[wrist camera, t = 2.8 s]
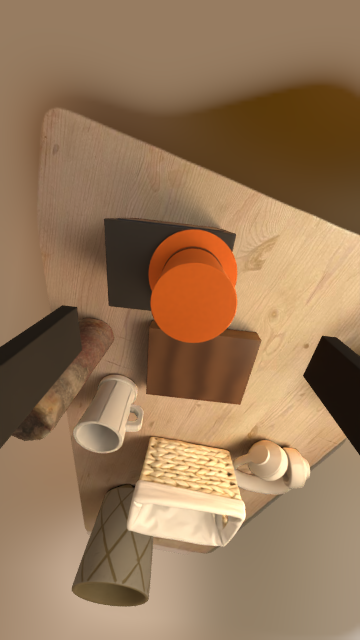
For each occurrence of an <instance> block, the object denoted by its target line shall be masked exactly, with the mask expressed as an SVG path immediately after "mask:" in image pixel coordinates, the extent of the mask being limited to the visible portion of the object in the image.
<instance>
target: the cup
mask: <svg viewBox="0 0 360 640" xmlns="http://www.w3.org/2000/svg"><path fill="white" fill-rule="evenodd" d="M137 393H138V391H137V387H136V385H135V383H134V382H133V381H132V380H130V379H129V378H127V377H125V376H122V375H109V376H106V377H105V378H103V379H102V380H101V382H100V383H99V385H98V389H97V393H96V395H95V396H94V398H93V400H92V402H91V403H90V405H89V407H88V408H87V410H86V411H85V413H84V414H83V416H82V418H81V419H80V421H79V422H78V424H77V425H76V427H75V428H74V431H73V435H74V438H75V440H76V442H77V443H78V444H79V445H80V446H82V447H83V448H85V449H87V450H89V451H92V452H96V453H111V452H114V451H116V450H118V449H119V448H120V447H121V446H122V443H123V440H124V435H125V432H137V431H139V430H140V429H141V427H142V421H143V415H144V411H143V409H142V408H141V407H140V406H138V405H133V404H132V403H133V402H134V401H135V400H136V397H137ZM130 412H131V413H135V415H136V416H137V418H138V419H136V420H135V421H128V417H129V413H130Z"/></svg>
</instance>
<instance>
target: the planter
mask: <svg viewBox="0 0 360 640" xmlns="http://www.w3.org/2000/svg"><path fill="white" fill-rule="evenodd" d="M134 490H135V488H133V487H132V486H131V485H130V484H127V485H123V486H120V487H117V488H114V489H112V490H110V491H108V492H107V493H106V495H105V497H104V500H103V502H102V505H101V508H100V511H99V514H98V516H97V519H96V522H95V525H94V527H93V530H92V533H91V536H90V538H89V541H88V544H87V546H86V549H85V552H84V555H83V557H82V560H81V563H80V566H79V569H78V572H77V574H76V577H75V580H74V583H73V586H72V591H73V593H74V594H75V595H77V596H78V597H80V598H82V599H85V600H87V601H91V602H94V603H98V604H104V605H110V606H137V605H141V604H144V603H145V602H147V601H148V599H149V588H150V577H151V562H152V550H153V536H149V535H144V534H140V533H137V532H134V531H129V530H128V529H127V520H128V515H129V510H130V506H131V501H132V497H133V493H134Z"/></svg>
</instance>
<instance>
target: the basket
mask: <svg viewBox="0 0 360 640" xmlns="http://www.w3.org/2000/svg"><path fill="white" fill-rule="evenodd" d="M225 515H228V520H227V519H225ZM245 516H246V514H245V505H244V502H243V501H241V496H240V491H239V488H238V486H237V481H236V476H235V473H234V467H233V464H232V460H231V456H230V452H229V451H227V450H224V449H219V448H213V447H207V446H203V445H195V444H192V443H190V444H189V443H186V442H183V441H178V440H176V441H174V440H168V439H164V438H158V437H151V438H150V440H149V445H148V449H147V453H146V457H145V461H144V464H143V468H142V471H141V474H140V477H139V481H137V482H136V485H135V490H134V493H133V497H132V501H131V506H130V510H129V515H128V520H127V529H128V530H129V531H134V532H137V533H140V534H144V535H149V536H155V537H160V538H167V539H173V540H179V541H185V542H190V543H195V544H201V545H211V546H222V547H224V546H225V545H226V544H227V543H228V542H229V541H230V540H231V539H232V537H233V536H234V535H235V533H236V532H237V531H238V529H239V528H240V526H241V524H242V522H243V521H244V519H245Z"/></svg>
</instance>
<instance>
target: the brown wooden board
mask: <svg viewBox="0 0 360 640" xmlns="http://www.w3.org/2000/svg"><path fill="white" fill-rule="evenodd" d="M260 344H261V339H260V338H259V336H258V334H257V333H256V332H248V331H239V330H230V329H226V330H225V331H223V332H222V333H221V334H220V335H218V336H217V337H215V338H213V339H210V340H208V341H204V342H199V343H188V342H182V341H179V340H176V339H174V338H172V337H170V336H169V335H167V334H166V333H165V332H163V331H162V330H161V329H160V327H159V326H158V325H157V323H156V322H155V321H152V322H151V325H150V327H149V345H148V367H147V389H146V394H151V395H160V396H168V397H177V398H186V399H195V400H204V401H213V402H222V403H230V404H239V405H240V404H241V401H242V398H243V395H244V392H245V389H246V386H247V383H248V380H249V377H250V374H251V371H252V368H253V365H254V362H255V359H256V356H257V353H258V350H259V347H260Z"/></svg>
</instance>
